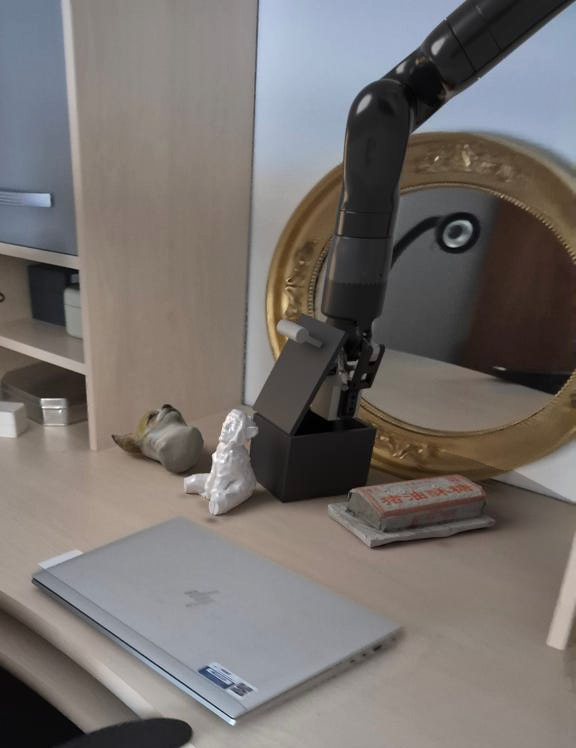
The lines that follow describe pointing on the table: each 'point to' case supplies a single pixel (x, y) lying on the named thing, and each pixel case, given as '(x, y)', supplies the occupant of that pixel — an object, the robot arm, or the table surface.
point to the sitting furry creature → (228, 467)
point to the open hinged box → (312, 457)
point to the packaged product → (413, 509)
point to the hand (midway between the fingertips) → (334, 411)
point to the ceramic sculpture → (165, 439)
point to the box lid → (299, 371)
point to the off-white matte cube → (331, 398)
